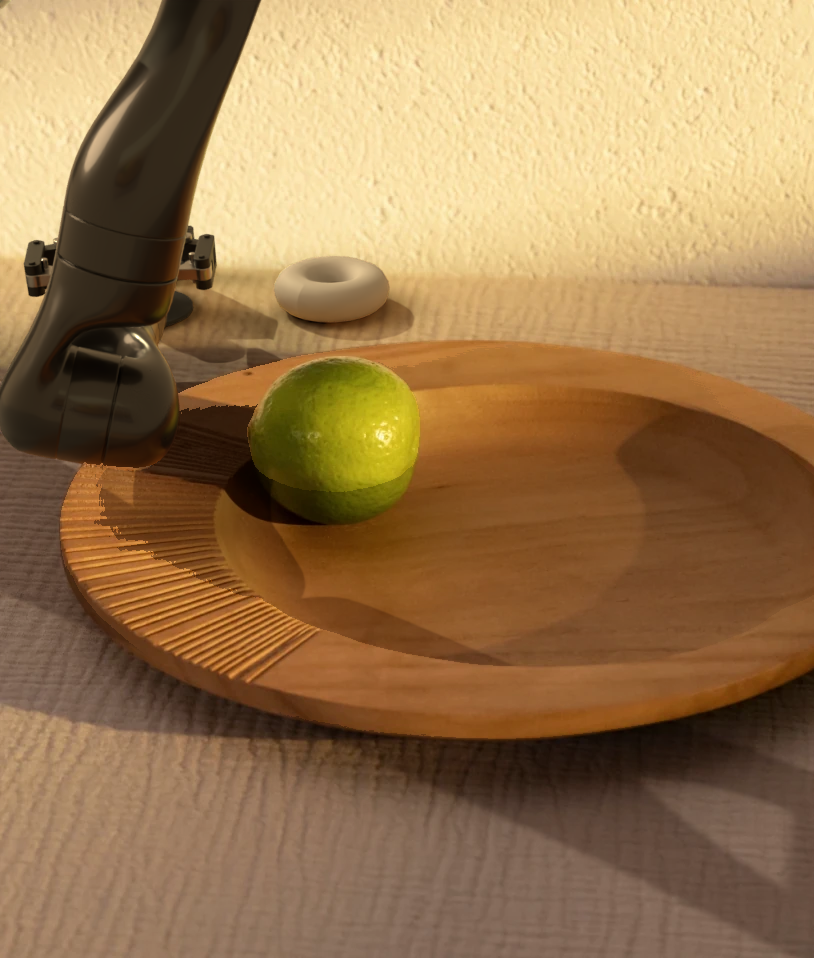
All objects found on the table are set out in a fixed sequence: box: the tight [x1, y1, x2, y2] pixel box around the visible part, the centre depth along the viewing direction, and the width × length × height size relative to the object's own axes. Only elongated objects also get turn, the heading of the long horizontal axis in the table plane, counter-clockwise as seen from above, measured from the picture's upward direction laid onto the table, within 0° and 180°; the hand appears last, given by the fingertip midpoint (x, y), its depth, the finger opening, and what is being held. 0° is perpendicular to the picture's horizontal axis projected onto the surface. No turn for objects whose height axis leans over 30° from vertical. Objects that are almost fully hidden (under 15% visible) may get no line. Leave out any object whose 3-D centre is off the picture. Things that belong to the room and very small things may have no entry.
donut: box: [273, 255, 391, 323], centre depth 115 cm, size 10×4×10 cm
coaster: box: [164, 290, 194, 328], centre depth 114 cm, size 9×9×1 cm
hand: (128, 233), depth 109 cm, fingers open, 8 cm apart
